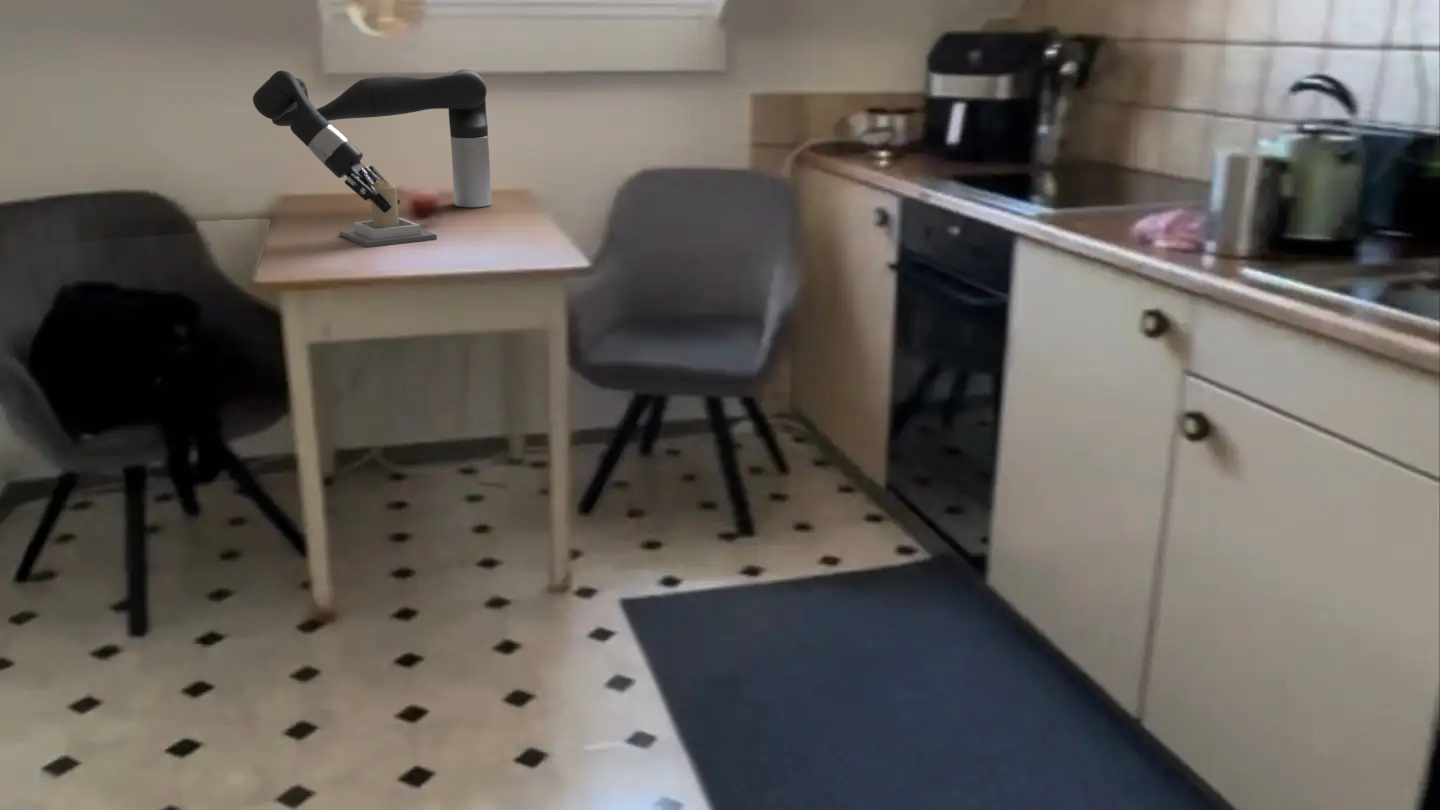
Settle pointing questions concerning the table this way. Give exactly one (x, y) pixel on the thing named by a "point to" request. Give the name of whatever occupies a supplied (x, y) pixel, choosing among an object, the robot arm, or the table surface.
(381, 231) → the candle tray
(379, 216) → the candle
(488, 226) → the table surface
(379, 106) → the robot arm
